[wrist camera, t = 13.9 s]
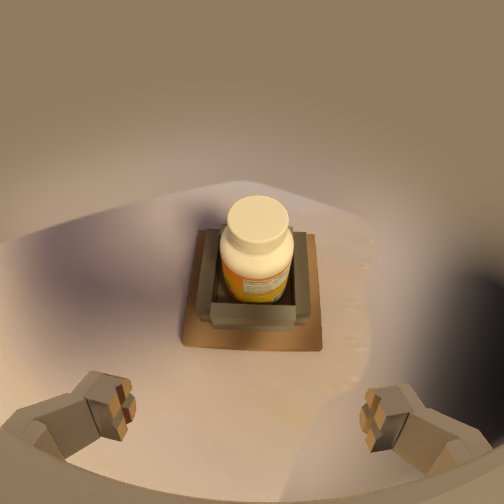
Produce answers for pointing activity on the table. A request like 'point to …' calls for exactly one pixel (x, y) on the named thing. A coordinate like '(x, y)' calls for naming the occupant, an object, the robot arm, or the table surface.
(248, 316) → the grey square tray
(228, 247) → the supplement bottle
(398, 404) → the robot arm
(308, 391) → the table surface
